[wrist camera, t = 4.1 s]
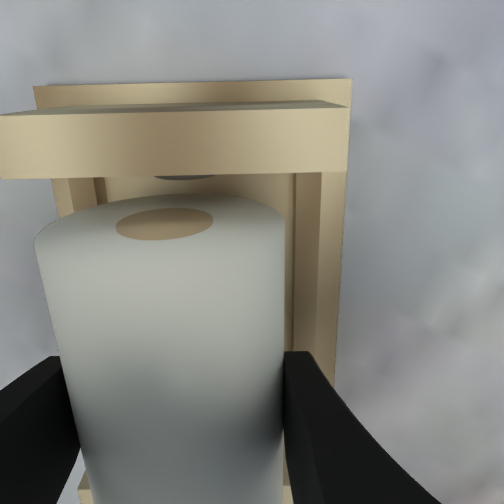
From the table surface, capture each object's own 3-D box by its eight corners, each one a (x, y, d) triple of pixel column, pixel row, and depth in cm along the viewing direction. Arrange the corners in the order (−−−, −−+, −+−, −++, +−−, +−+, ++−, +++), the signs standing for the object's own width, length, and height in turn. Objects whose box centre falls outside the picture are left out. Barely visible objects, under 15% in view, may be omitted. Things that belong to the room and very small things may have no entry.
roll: (289, 435, 14) (273, 612, 9) (143, 421, 15) (62, 578, 10) (292, 193, 11) (270, 279, 6) (108, 190, 12) (-33, 264, 7)
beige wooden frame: (345, 78, 14) (399, 76, 9) (327, 410, 19) (354, 527, 14) (46, 86, 14) (-68, 88, 9) (108, 414, 19) (58, 532, 14)
